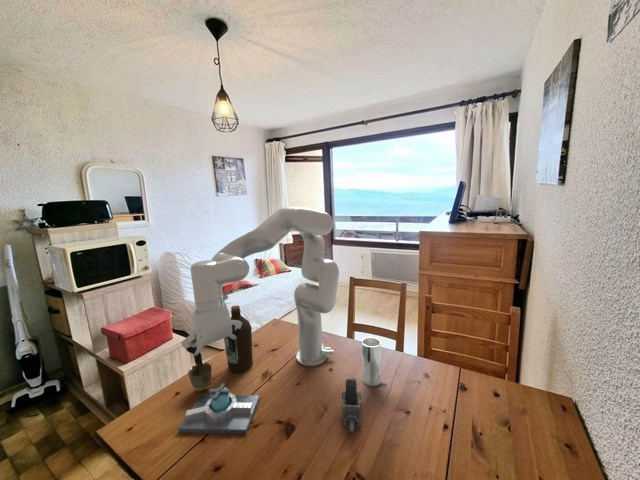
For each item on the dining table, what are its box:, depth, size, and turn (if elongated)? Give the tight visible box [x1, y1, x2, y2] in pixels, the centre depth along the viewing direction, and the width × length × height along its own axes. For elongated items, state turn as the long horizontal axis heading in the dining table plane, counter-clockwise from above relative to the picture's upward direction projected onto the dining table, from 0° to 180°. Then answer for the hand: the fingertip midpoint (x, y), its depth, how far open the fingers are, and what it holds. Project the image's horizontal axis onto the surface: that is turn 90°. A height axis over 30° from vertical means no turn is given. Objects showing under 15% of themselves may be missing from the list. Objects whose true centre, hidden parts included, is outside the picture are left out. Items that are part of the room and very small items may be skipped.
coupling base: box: [177, 392, 260, 435], centre depth 80 cm, size 20×13×4 cm, turn 86°
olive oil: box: [223, 305, 254, 374], centre depth 103 cm, size 11×11×25 cm
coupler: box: [208, 382, 231, 412], centre depth 80 cm, size 5×5×7 cm
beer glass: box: [360, 336, 383, 387], centre depth 92 cm, size 7×7×15 cm
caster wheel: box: [341, 378, 362, 434], centre depth 77 cm, size 6×10×15 cm
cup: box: [187, 362, 212, 393], centre depth 92 cm, size 8×7×8 cm
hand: (216, 357), depth 78 cm, fingers open, 9 cm apart
